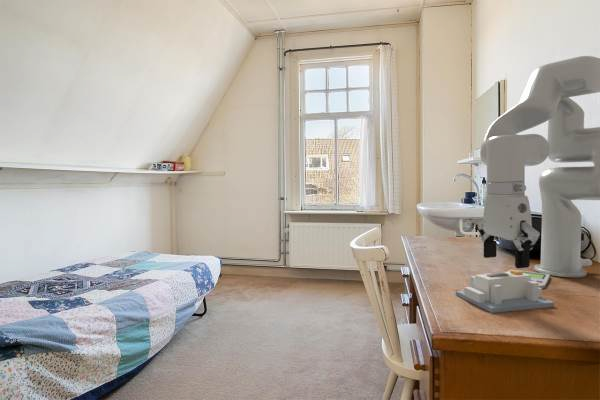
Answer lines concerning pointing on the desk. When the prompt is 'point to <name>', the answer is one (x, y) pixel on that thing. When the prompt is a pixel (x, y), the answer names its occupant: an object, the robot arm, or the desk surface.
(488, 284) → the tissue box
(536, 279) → the handheld gaming console
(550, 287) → the desk surface
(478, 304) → the bracket board
